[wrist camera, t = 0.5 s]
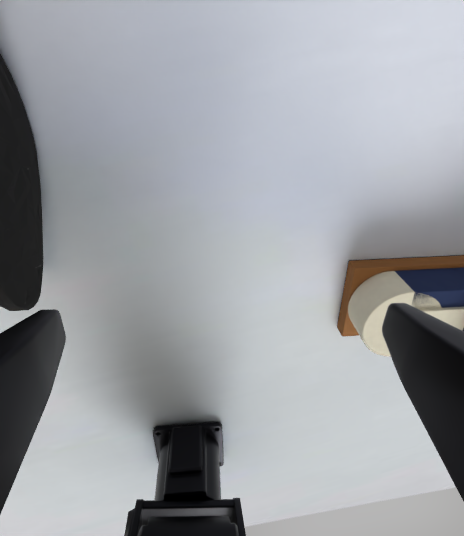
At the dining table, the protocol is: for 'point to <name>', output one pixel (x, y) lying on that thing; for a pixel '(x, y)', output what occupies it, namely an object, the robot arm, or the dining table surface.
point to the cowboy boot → (18, 203)
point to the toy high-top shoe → (400, 294)
